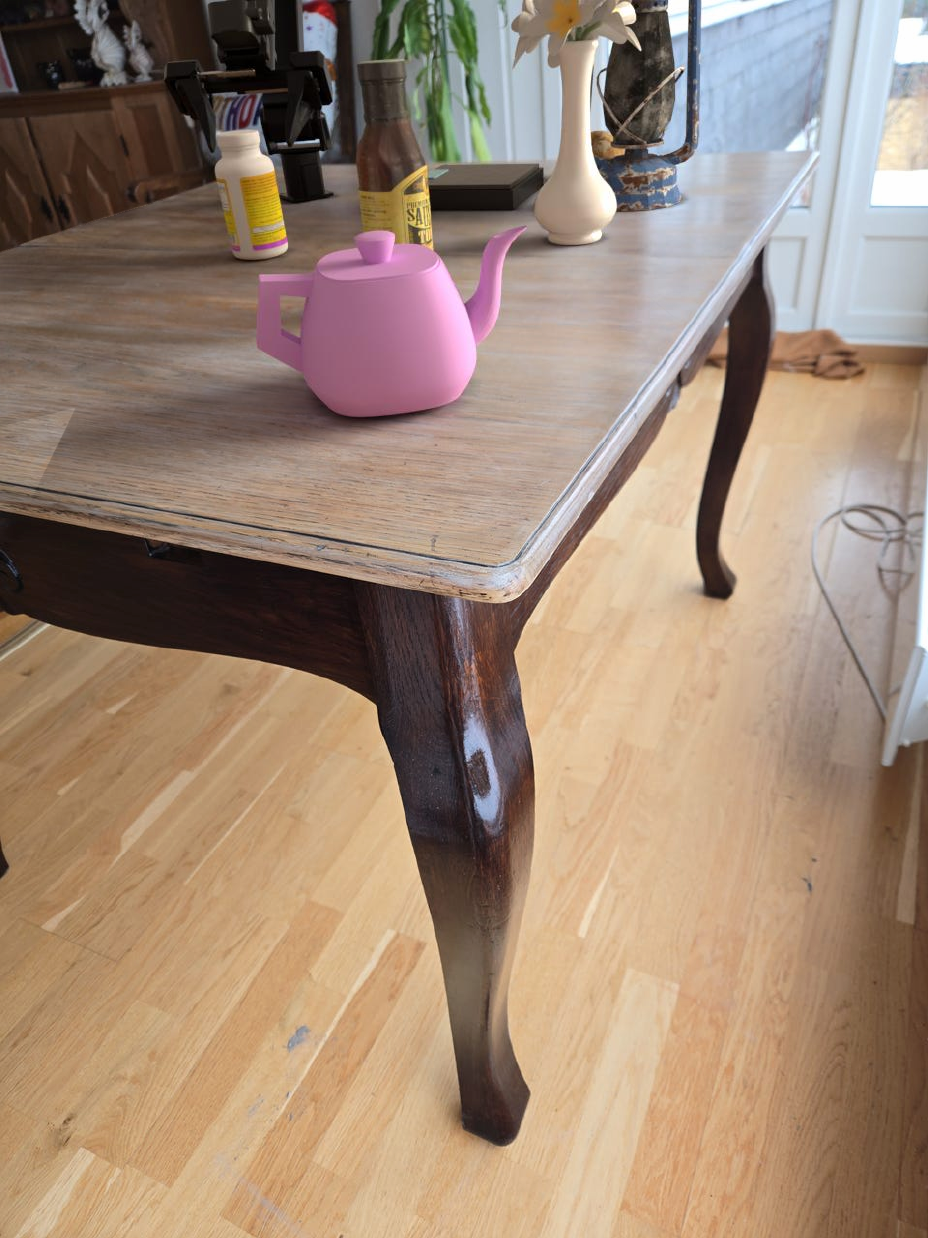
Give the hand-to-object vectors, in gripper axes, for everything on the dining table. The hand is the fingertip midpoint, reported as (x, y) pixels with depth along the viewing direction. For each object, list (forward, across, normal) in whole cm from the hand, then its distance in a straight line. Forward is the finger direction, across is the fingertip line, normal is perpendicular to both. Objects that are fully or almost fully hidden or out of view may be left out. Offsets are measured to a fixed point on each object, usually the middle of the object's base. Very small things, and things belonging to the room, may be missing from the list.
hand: (249, 147), depth 100 cm
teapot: (+43, +20, -27) cm, 55 cm away
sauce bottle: (+28, +19, -13) cm, 37 cm away
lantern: (0, +47, +16) cm, 49 cm away
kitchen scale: (-7, +26, +22) cm, 35 cm away
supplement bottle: (+11, 0, +5) cm, 12 cm away
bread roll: (-12, +43, +28) cm, 53 cm away
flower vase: (+12, +37, +3) cm, 39 cm away
